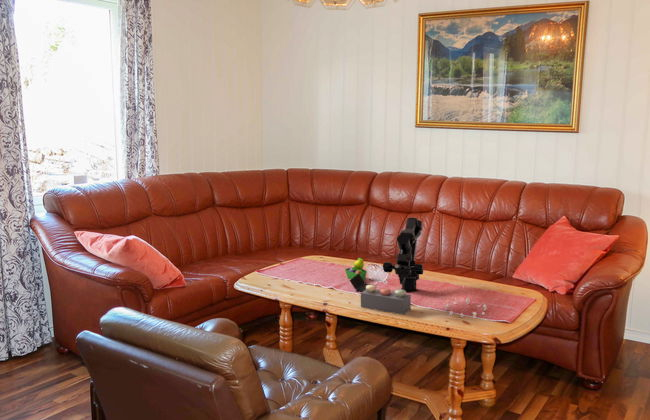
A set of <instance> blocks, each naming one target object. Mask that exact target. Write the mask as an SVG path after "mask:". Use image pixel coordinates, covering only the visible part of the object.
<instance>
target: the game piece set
mask: <svg viewBox="0 0 650 420" xmlns="http://www.w3.org/2000/svg"><path fill="white" fill-rule="evenodd" d="M470 301H471V300H470V298H469V297H466V299H465V303H466V305H469V304H470ZM446 302H447V304H445V307H444V310H445V311H447V308H450V307H451V304H450V303H449V302H450V299H447V301H446ZM453 304H454V305H458V303H457V298H455V299H454V301H453ZM481 306H482V304H477V307H478V308H480V307H481ZM482 307H483V310H484V311H486V310H487V304H483V306H482ZM484 311H482V312H481V315H483V316H484V315H486V314H485V312H484ZM453 313H454V312H453V311H452V310H450V311H449V313H448V315H449V316H453V315H454V314H453ZM477 315H478V314H477V312H475V311H472V318H474V319H475V318H478V317H477ZM459 316H460V317H461V318H463V317H465V315H464V314H463V312H461V313H460V315H459Z"/></svg>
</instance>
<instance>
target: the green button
mask: <svg viewBox="0 0 650 420" xmlns="http://www.w3.org/2000/svg"><path fill="white" fill-rule="evenodd" d="M394 292H395V295H397V296H398V297H399V298H403V296H404V295H405V294H406V291H405V290H402V289H401V288H400V289H395V291H394Z"/></svg>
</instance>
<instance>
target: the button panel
mask: <svg viewBox="0 0 650 420" xmlns="http://www.w3.org/2000/svg"><path fill="white" fill-rule="evenodd" d="M380 290H381V289H377V288H376V290H375V291H374V292H373V293H369V291H367V290H364V291H363V292H360V307H361V308H365V309H369V310H376V311H381V312H387V313H392V314H398V315H402V316H404V315H405V314H407V313H408V312H409V311H410V310H411V307H412V306H411V305H412V304H411V302H412V301H411V297H412V295H411V294H406V293H405V295H404V296H403V298H399V297H398V296H397V295H395V291H391V294H390V295H382V294H380Z"/></svg>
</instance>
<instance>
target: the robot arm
mask: <svg viewBox="0 0 650 420" xmlns="http://www.w3.org/2000/svg"><path fill="white" fill-rule="evenodd" d="M406 219H407V220H405V228H404V229H402V230H401V231H400V233H399V235H398V236H397V238H396V243H397V247H398V249H399V250H398V253H397V254H396V264H393V262H391V261H384V262H383V263H382V269H383V270H382V271H383V272H384V273H392V272H393V271H394V273H395V274H396V275H397V276H398V280H399V285H401V287H400V289H402V290H405V293H412V292H418V291H419V289H417V281H418V280H420V275H423V274H424V264H422V263H416V261H415V260H416V251H417V244H418V238H419V237H420V236H421V235H422V231H423V229H424V228H423V226H424V225H423V221H421V220H420V219H418V218H417V217H407V218H406Z"/></svg>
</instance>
